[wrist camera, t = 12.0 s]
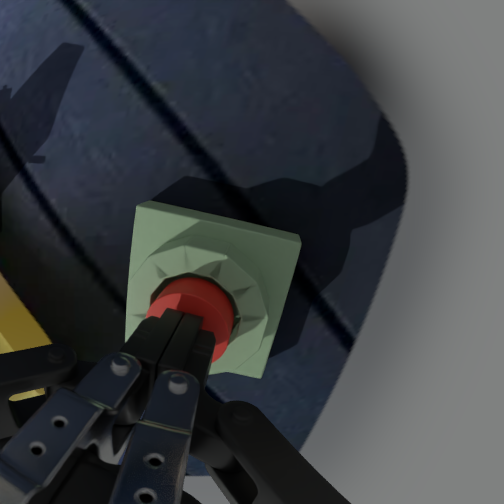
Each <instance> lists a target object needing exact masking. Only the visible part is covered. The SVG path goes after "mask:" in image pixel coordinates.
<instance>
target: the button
mask: <svg viewBox="0 0 504 504" xmlns="http://www.w3.org/2000/svg"><path fill="white" fill-rule="evenodd" d="M167 307H168V308H172V309H175V310H179V311H183V312H185V313H186V312H187V313H190V314H194V315H198V316H202V317H204V320H203V326H202V329H203V330H207V331H211V332H213V333H214V336H215V338H216V344H215V349H214V354H213V358H212V363H213V362H215V361H216V360H218V359H219V358H220V357H221V356H222V355H223V354H224V352H225V351H226V349H227V346H228V343H229V339H230V335H231V331H232V327H233V322H234V312H233V308H232V305H231V302H230V300H229V299H228V297H227V296H226V294H225V293H224V292H223V291H222V290H221V289H220V288H219V287H217V286H216V285H214V284H213V283H211V282H209V281H207V280H204V279H200V278H193V277H188V278H181V279H178V280H175V281H173V282H171V283H170V284H169V285H167V286H166V287H165V288H164V290H163V291H162V292H161V293H160V295H159V296H158V297H157V298H156V300H155V301H154V302H153V303H152V305H151V306H150V308H149V309H148V311H147V314H146V318H148V317H150V316H155V317H159V318H160V317H161V315H162V314H163V312H164V311H165V309H166V308H167Z"/></svg>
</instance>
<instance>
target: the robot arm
mask: <svg viewBox="0 0 504 504" xmlns="http://www.w3.org/2000/svg"><path fill="white" fill-rule="evenodd" d="M203 320H204V317H202V316H198V315H194V314H190V313H187V312H186V313H185V312H183V311H179V310H175V309H172V308H168V307H167V308H166V309H165V311H164V312H163V314H162V315H161V317H160V318H159V317H155V316H150V317H148V318H146V319H144V320H142V321H141V323H140V324H139V325H138V327H137V329H135V331H134V332H133V334H132V335H131V336H130V337H129V339H128V340H127V341H126V343H125V344H124V345H123V347H122V348H121V350H120V351H119V352H115V353H110V354H107V355H105V356H104V357H103V358H102V359H101V360H100V361H99V362H98V363H94V362H86V361H79V360H77V355H76V352H75V351H74V350H73V349H72V348H70V347H69V346H67V345H63V344H49V345H45V346H40V347H35V348H30V349H25V350H20V351H14V352H9V353H4V354H0V504H201V503H200V502H199V501H198V500H196V499H195V498H194V497H193V496H191V495H190V494H188V493H187V492H185V491H183V484H184V478H185V472H186V466H187V460H188V454H190V455H191V456H193V457H195V458H197V459H199V460H200V461H202V462H204V463H205V467H206V469H207V471H208V473H209V474H210V476H211V477H212V478H213V480H214V481H215V483H216V484H217V486H218V487H219V488H220V490H221V491H222V492H223V494H224V495H225V497H226V498H227V499H228V501H229V502H230V504H351V503H350V502H349V501H348V500H346V499H345V498H344V497H343V496H342V495H341V494H340V493H339V492H338V491H337V490H336V489H335V488H334V487H333V486H332V485H331V484H330V483H329V482H328V481H326V479H325V478H323V476H321V475H320V474H319V473H318V472H317V471H316V470H315V469H314V468H313V467H312V466H311V464H309V463H308V461H307V460H306V459H304V457H303V456H302V455H301V454H300V453H299V452H298V451H297V450H296V449H295V448H294V447H293V446H292V445H291V444H290V443H289V442H288V441H287V439H286V438H285V437H284V436H283V435H282V434H281V433H280V432H279V431H278V430H277V429H276V428H275V426H274V425H273V424H272V423H271V422H270V421H269V420H268V419H267V418H266V416H265V415H264V414H263V413H262V412H261V411H260V410H259V409H258V408H257V407H256V406H254V405H252V404H250V403H247V402H244V401H230V402H227V403H225V404H221V403H219V402H217V401H216V400H214V399H213V398H211V397H210V396H209V395H208V394H207V392H206V391H205V385H206V382H207V378H208V375H209V372H210V368H211V363H212V358H213V354H214V349H215V344H216V338H215V336H214V333H213V332H211V331H207V330H203V329H202V326H203ZM40 388H44V391H45V394H44V395H40V396H36V397H32V398H27V399H23V400H19V401H10V400H8V399H9V398H10V397H11V396H12V395H14V394H18V393H23V392H27V391H31V390H36V389H40ZM144 410H145V412H144ZM143 412H144V415H143V418H142V420H140V418H141V416H142V414H143ZM127 446H128V447H127ZM126 447H127V449H126ZM125 449H126V452H125V455H124V458H123V461H122V464H121V465H117V464H118V461H119V459H120V458H121V456H122V454H123V453H124V451H125Z"/></svg>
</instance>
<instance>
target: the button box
mask: <svg viewBox="0 0 504 504" xmlns="http://www.w3.org/2000/svg"><path fill="white" fill-rule="evenodd" d="M301 245H302V244H301V240H300V237H299V235H298V234H294V233H290V232H286V231H282V230H278V229H273V228H269V227H265V226H261V225H257V224H252V223H248V222H244V221H240V220H235V219H231V218H227V217H222V216H218V215H214V214H209V213H205V212H200V211H196V210H191V209H187V208H182V207H178V206H173V205H169V204H164V203H159V202H155V201H147V202H144V203H142V204H139V205H137V207H136V214H135V222H134V230H133V238H132V248H131V257H130V268H129V280H128V294H127V311H126V336H125V342H126V341H127V340H128V339H129V337H130V336H131V335H132V334H133V332H134V331H135V329H137V327H138V325H139V324H140V323H141V321H142V320H144V319H146V314H147V311H148V309H149V308H150V306H151V305H152V303H153V302H154V301H155V300H156V298H157V297H158V296H159V295H160V293H161V292H162V291H163V290H164V288H165V287H166V286H167V285H169V284H170V283H171V282H173V281H175V280H178V279H181V278H188V277H193V278H200V279H204V280H207V281H209V282H211V283H213V284H214V285H216V286H217V287H219V288H220V289H221V290H222V291H223V292H224V293H225V294H226V296H227V297H228V299H229V300H230V302H231V305H232V308H233V312H234V322H233V327H232V331H231V335H230V339H229V343H228V346H227V349H226V351H225V352H224V354H223V355H222V356H221V357H220V358H219V359H218V360H216V361H215V362H213V363H211V368H210V372H209V375H210V374H216V373H222V372H227V371H228V372H232V373H236V374H241V375H246V376H250V377H255V378H262V375H263V372H264V369H265V366H266V363H267V360H268V357H269V353H270V350H271V347H272V344H273V341H274V337H275V334H276V331H277V328H278V324H279V321H280V318H281V314H282V311H283V308H284V304H285V301H286V298H287V294H288V291H289V287H290V284H291V281H292V277H293V274H294V270H295V267H296V263H297V259H298V256H299V252H300V249H301Z"/></svg>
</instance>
